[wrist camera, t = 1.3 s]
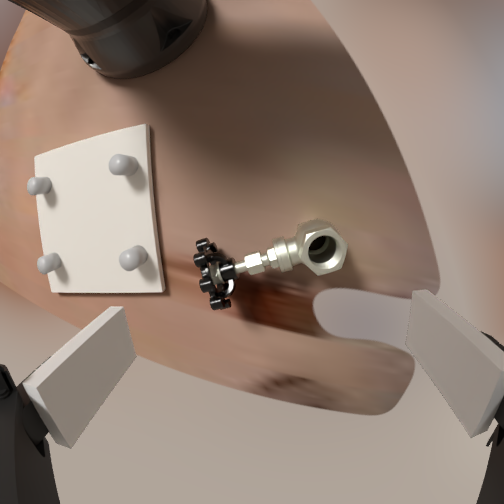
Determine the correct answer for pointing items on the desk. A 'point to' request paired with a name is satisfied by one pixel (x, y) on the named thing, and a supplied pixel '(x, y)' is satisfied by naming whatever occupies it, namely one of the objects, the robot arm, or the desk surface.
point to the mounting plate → (99, 215)
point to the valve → (269, 259)
